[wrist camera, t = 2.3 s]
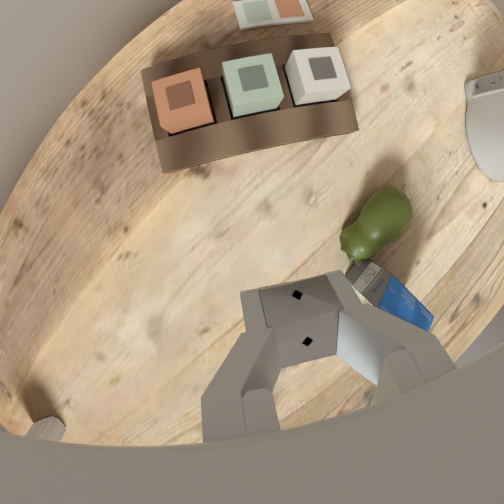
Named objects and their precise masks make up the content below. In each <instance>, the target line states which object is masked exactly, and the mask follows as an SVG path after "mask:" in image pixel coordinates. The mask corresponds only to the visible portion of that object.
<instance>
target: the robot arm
mask: <svg viewBox="0 0 504 504" xmlns="http://www.w3.org/2000/svg"><path fill="white" fill-rule="evenodd" d="M465 90H466V96H467V111H466V131H467V137H468V141H469V145H470V148H471V151H472V154H473V156H474V158H475V160H476V162H477V164H478V166H479V167H480V169H481V170H482V171H483V173H484V174H485V175H486V176H488V177H489V178H490V179H492V180H495V181H503V182H504V70H503V71H499V72H496V73H492V74H489V75H486V76H482V77H479V78H476V79H472V80H469V81H467V82H466V83H465ZM240 297H241V303H242V309H243V315H244V321H245V327H246V332H245V333H241V334H240V336H239V338H238V339H237V341H236V343H235V344H234V346H233V347H232V349H231V351H230V352H229V354H228V355H227V357H226V359H225V360H224V362H223V363H222V365H221V367H220V368H219V370H218V371H217V373H216V375H215V376H214V378H213V379H212V381H211V382H210V384H209V386H208V387H207V389H206V390H205V392H204V393H203V395H202V397H201V409H202V430H203V443H194V444H181V445H164V446H104V445H87V444H75V443H65V442H57V441H49V440H42V439H36V438H30V437H25V436H19V435H14V434H10V433H5V432H1V431H0V504H504V342H502V343H501V344H499V345H498V346H496V347H495V348H493V349H491V350H490V351H488V352H486V353H484V354H482V355H481V356H479V357H477V358H476V359H474V360H472V361H470V362H468V363H466V364H464V365H462V366H461V367H459V368H456V366H455V365H454V363H453V361H452V360H451V358H450V357H449V355H448V354H447V352H446V351H445V349H444V348H443V346H442V345H441V343H440V342H439V340H438V339H437V338H436V336H435V335H433V334H431V333H429V332H427V331H425V330H423V329H421V328H419V327H417V326H415V325H412V324H410V323H408V322H406V321H404V320H402V319H400V318H398V317H396V316H393V315H391V314H389V313H387V312H385V311H383V310H381V309H379V308H377V307H374V306H372V305H370V304H368V303H366V304H362V302H361V301H360V299H359V297H358V296H357V294H356V293H355V291H354V289H353V288H352V286H351V285H350V283H349V282H348V280H347V278H346V277H345V275H344V274H343V272H342V271H341V270H336V271H332V272H328V273H325V274H323V275H318V276H314V277H310V278H305V279H301V280H297V281H292V282H287V283H282V284H276V285H271V286H266V287H261V288H258V289H251V290H246V291H241V292H240ZM332 355H336V356H337V357H339V358H340V359H341V360H343V361H344V362H345V363H347V364H348V365H349V366H351V367H352V368H353V369H355V370H356V371H357V372H359V373H360V374H361V375H363V376H364V377H365V378H367V379H368V380H370V381H371V382H372V383H374V384H375V385H376V386H377V387H376V390H375V393H374V396H373V399H372V402H371V404H370V406H367V407H364V408H361V409H358V410H355V411H352V412H349V413H346V414H342V415H339V416H336V417H332V418H329V419H325V420H322V421H318V422H314V423H310V424H306V425H302V426H298V427H294V428H290V429H285V430H280V425H279V421H278V417H277V413H276V408H275V404H274V400H273V395H272V391H273V388H274V386H275V383H276V381H277V378H278V375H279V373H280V369H281V368H285V367H289V366H292V365H296V364H300V363H304V362H307V361H312V360H316V359H320V358H324V357H328V356H332Z"/></svg>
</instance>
